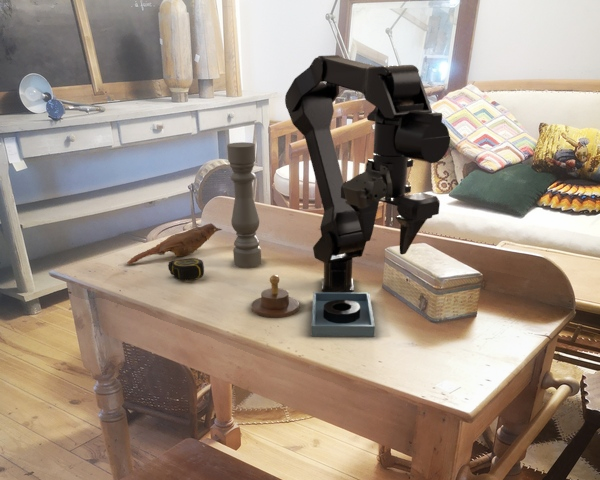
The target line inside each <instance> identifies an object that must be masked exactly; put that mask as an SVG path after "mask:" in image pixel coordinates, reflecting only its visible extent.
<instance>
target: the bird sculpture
mask: <svg viewBox="0 0 600 480" xmlns="http://www.w3.org/2000/svg"><path fill="white" fill-rule="evenodd" d="M222 230H223V229H222V228H220V227H219V228H218V227H217V226H215V224H214V223H211V222H210V223H207V224H204V225H202V226H194V227H193V228H190V229H188V230H186V231H183V232H179V233H174V234H172V235H170V236H168V237H167V238H165V240H163V241H160V242H159V244H156V245H155V246H153V247H151V248H149V249H147V250H144V251H142V252H140V253H138V254H135V255H134V256H133V257H131V258H130V259H129V260H128V261H127V264H126V265H127V266H128V265H132V264H135V263H136V262H138V261H139V260H142V259H143V258H146V257H149V256H154V255H159V256H162V255H165V253H169V252H171V253H173V254H174V255H175V256H176V257H184V256H188V255H190V254H192V253H194V252H196V251H197V250H198V249H199V248H201V247H202V246H203V245H204V244H205V243H206V242H207V241H210V239H211V237H212V236H213V235H214V234H215V233H217V232H220V231H222Z"/></svg>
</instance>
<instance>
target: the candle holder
mask: <svg viewBox="0 0 600 480" xmlns="http://www.w3.org/2000/svg"><path fill="white" fill-rule="evenodd" d="M226 149H227V162H228V163H229V167H230V168H231V170H232V174H231V175H230V176H229V177H230V180H231V181H232V183H233V187H234V188H233V189H234V200H233V201H234V202H233V208H232V216H231V222H230V223H231V227H232V229H233V230H234V232H235V235H236V238H235V240H234V242H233V245H234V247H233V250H232V251H233V253H232V254H233V264H234V265H233V266H235V267H237V268H240V269H252V268H258V267H259V266H261V265H262V247H260V243H261V242H260V240H259V239H258V237H257V236H256V235H257V231H258V229H259V226H260V217H259V213H258V209H257V206H256V203H255V198H254V189H253V188H254V187H253V183H254V180H255V179H256V174H255V173H253V169H254V168H255V162H256V161H257V160H256V159H257V157H256V144H255V143H253V142H243V141H242V142H241V141H240V142H231V143H227V145H226Z"/></svg>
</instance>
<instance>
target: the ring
mask: <svg viewBox="0 0 600 480" xmlns="http://www.w3.org/2000/svg"><path fill="white" fill-rule="evenodd" d="M323 317H324V318H325V319H326V320H327V321H329V322H334V323H351V322H355V321H356V320H358V319H359V318H360V305H359V304H357V303H356V302H354V301H349V300H333V301H329V302H327V303H325V304H324V306H323Z"/></svg>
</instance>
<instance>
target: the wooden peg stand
mask: <svg viewBox="0 0 600 480" xmlns="http://www.w3.org/2000/svg"><path fill="white" fill-rule="evenodd" d="M269 283H270V284H271V287H270V288H267V289H264V290H262V291H261V293H260V297H259V298H255V300H253V301H252V302H251V311H252V312H253V313H254V314H255V315H257V316H259V317H263V318H271V319H272V318H275V319H277V318H285V317H289V316H292V315H294V314H296V313H297V312H298V311H299V309H300V302H299V301H298V300H297V299H296V298H294V297H291V296H290V292H289V291H288V290H286V289H284V288H279V283H280V277H279V276H278V275H276V274H273V275H270V277H269Z"/></svg>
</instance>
